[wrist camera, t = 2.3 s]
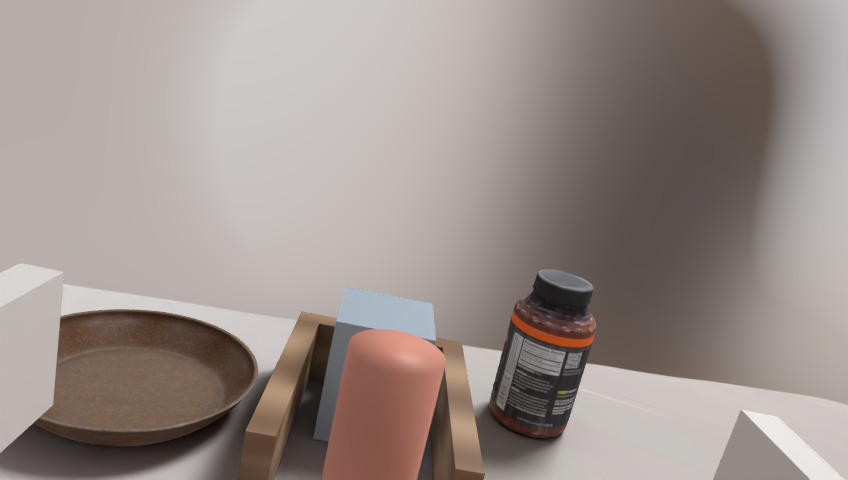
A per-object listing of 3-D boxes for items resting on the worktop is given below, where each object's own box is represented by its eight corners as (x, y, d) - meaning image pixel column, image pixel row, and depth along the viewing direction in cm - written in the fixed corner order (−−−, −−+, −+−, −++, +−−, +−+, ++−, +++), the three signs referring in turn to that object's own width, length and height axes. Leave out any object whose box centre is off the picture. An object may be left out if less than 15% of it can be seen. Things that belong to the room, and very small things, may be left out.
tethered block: (326, 390, 44) (360, 216, 40) (408, 406, 44) (449, 235, 41) (252, 659, 24) (307, 357, 20) (404, 682, 24) (482, 391, 21)
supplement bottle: (507, 389, 50) (544, 259, 47) (575, 422, 47) (619, 286, 44) (473, 413, 45) (511, 270, 42) (547, 453, 42) (593, 301, 39)
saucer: (285, 376, 45) (291, 342, 44) (178, 505, 31) (184, 459, 30) (100, 324, 46) (103, 291, 46) (-85, 425, 32) (-85, 379, 31)
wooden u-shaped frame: (292, 366, 46) (301, 311, 45) (448, 395, 47) (461, 342, 46) (233, 507, 31) (245, 430, 30) (464, 547, 32) (484, 473, 31)
